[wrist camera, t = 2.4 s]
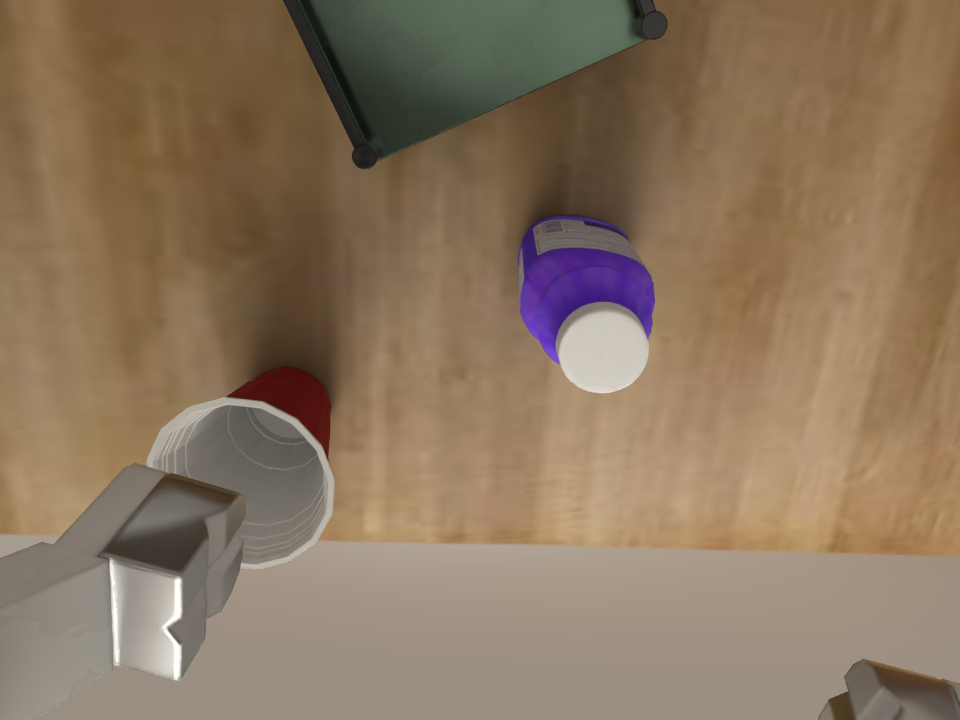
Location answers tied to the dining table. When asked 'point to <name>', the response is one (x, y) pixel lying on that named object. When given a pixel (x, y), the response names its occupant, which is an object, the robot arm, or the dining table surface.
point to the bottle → (586, 300)
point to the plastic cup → (261, 459)
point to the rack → (453, 57)
